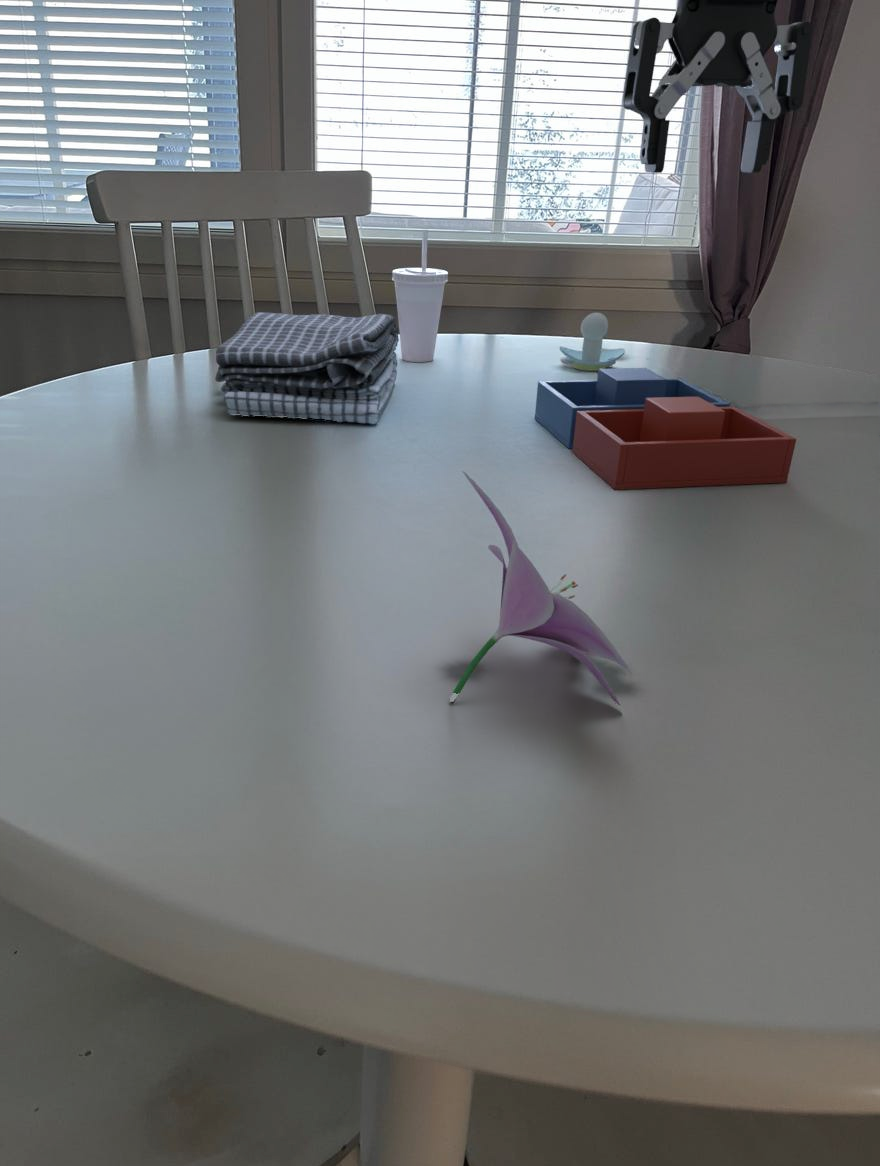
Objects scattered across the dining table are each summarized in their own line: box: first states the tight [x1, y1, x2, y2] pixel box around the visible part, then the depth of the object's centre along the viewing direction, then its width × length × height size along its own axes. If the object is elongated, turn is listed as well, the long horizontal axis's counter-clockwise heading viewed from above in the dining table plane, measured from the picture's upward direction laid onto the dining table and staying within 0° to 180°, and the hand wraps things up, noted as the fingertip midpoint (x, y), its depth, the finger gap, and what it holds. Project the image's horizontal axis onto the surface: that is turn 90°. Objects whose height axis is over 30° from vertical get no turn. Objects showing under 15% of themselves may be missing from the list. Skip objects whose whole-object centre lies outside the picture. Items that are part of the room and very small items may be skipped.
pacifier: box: [559, 312, 626, 372], centre depth 107 cm, size 7×6×6 cm
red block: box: [639, 397, 725, 442], centre depth 75 cm, size 5×5×5 cm
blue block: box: [594, 367, 668, 406], centre depth 84 cm, size 5×5×5 cm
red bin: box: [571, 406, 797, 491], centre depth 75 cm, size 14×10×4 cm
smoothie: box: [391, 229, 449, 363], centre depth 107 cm, size 6×6×14 cm
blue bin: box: [534, 377, 731, 450], centre depth 84 cm, size 14×10×4 cm
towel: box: [214, 311, 400, 425], centre depth 90 cm, size 15×18×8 cm
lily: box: [452, 471, 632, 706], centre depth 43 cm, size 12×12×10 cm
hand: (702, 172), depth 77 cm, fingers open, 8 cm apart
